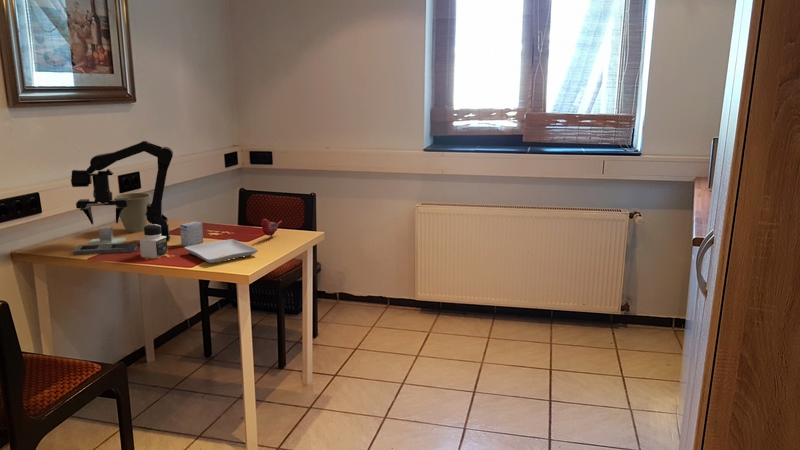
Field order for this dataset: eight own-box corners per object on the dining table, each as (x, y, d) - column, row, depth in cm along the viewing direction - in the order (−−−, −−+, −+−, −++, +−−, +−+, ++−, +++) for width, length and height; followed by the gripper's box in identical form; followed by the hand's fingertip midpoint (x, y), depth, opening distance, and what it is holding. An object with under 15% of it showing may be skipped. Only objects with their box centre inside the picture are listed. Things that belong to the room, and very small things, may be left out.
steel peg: (113, 239, 247) (112, 226, 246) (111, 242, 243) (110, 228, 241) (102, 240, 246) (100, 226, 244) (100, 243, 242) (98, 228, 240)
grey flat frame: (138, 245, 241) (137, 242, 241) (134, 251, 232) (134, 248, 232) (78, 248, 235) (78, 245, 235) (72, 255, 227) (72, 251, 226)
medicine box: (196, 240, 250) (195, 221, 248) (203, 242, 248) (202, 222, 246) (181, 245, 244) (179, 224, 242) (188, 246, 242) (187, 226, 240)
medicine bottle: (157, 258, 224) (155, 228, 222) (140, 257, 226) (138, 226, 223) (168, 253, 231) (166, 223, 228) (151, 252, 233) (149, 222, 230)
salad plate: (259, 257, 230) (259, 248, 230) (209, 267, 216) (208, 258, 215) (232, 246, 245) (232, 238, 244) (183, 255, 231) (182, 246, 230)
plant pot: (116, 228, 268) (112, 194, 265) (151, 225, 275) (148, 191, 271) (118, 236, 255) (114, 199, 252) (154, 232, 262) (152, 197, 259)
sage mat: (126, 239, 251) (126, 237, 251) (122, 245, 242) (121, 243, 241) (92, 240, 247) (92, 239, 247) (87, 246, 238) (86, 245, 238)
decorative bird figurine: (258, 242, 250) (257, 219, 247) (280, 233, 266) (279, 211, 264) (264, 243, 249) (263, 220, 247) (285, 233, 265) (285, 212, 263)
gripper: (129, 182, 249) (132, 218, 253) (80, 183, 244) (84, 220, 248) (125, 187, 239) (128, 224, 242) (73, 188, 234) (77, 226, 237)
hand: (104, 223), depth 243 cm, fingers open, 9 cm apart
